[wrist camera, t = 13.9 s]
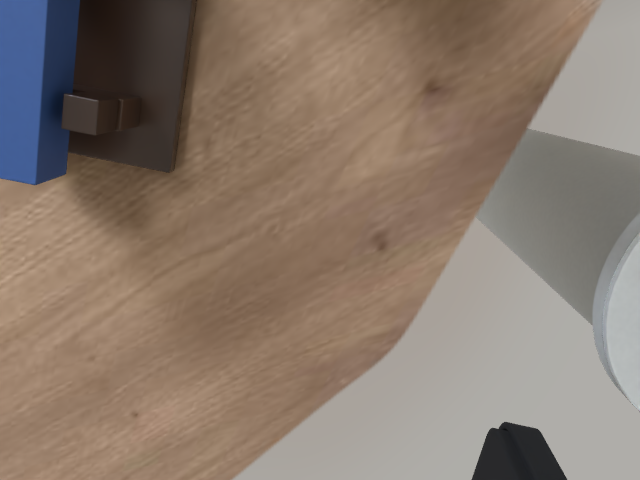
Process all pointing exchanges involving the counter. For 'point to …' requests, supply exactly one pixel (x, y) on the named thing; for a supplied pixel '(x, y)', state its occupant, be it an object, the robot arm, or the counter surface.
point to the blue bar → (35, 86)
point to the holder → (129, 81)
